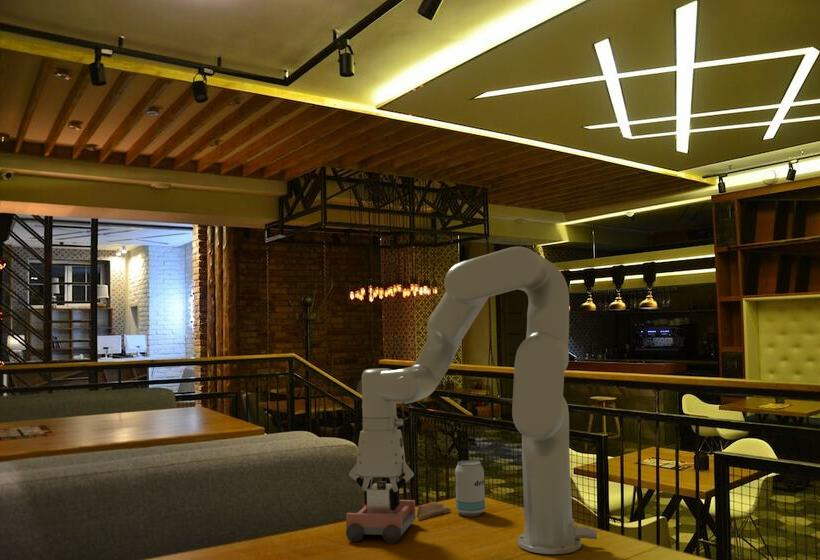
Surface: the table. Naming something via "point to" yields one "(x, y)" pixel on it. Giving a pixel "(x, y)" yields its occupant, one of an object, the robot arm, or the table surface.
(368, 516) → the chassis
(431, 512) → the shard
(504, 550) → the table surface
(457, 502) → the beverage can
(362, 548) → the table surface
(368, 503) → the cube with metal knob
